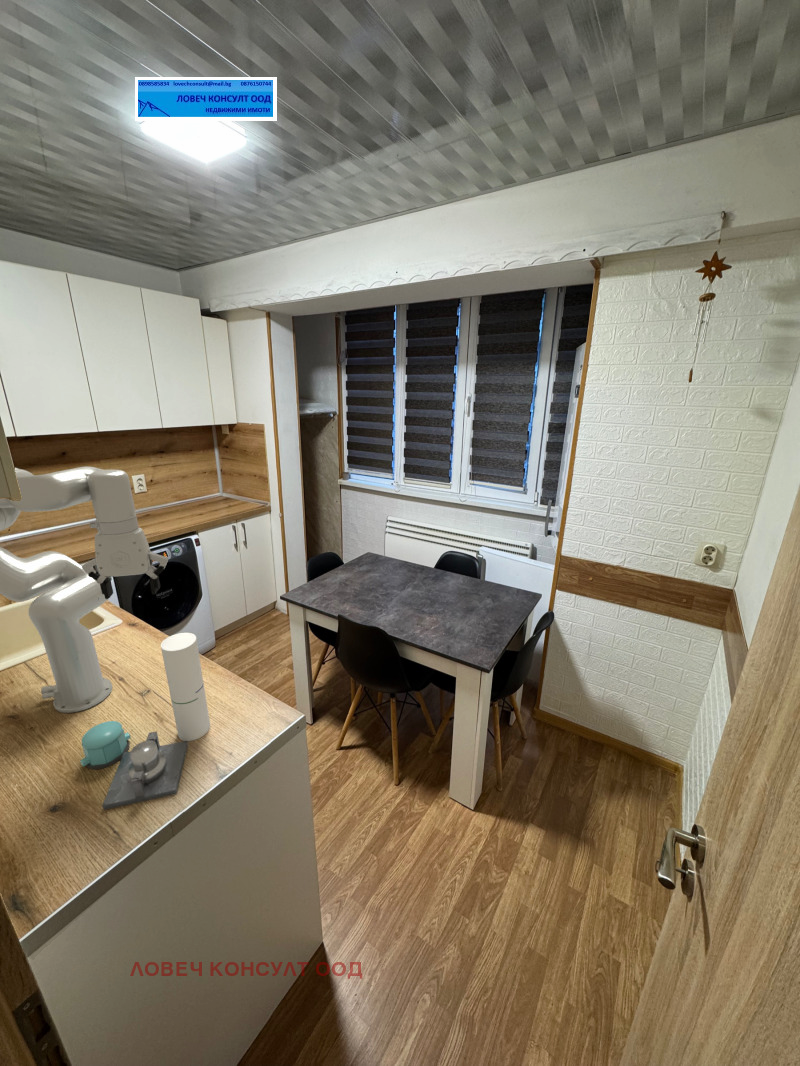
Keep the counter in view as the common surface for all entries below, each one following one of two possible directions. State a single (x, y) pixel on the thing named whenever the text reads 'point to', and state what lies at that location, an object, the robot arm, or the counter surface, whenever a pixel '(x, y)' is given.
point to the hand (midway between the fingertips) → (132, 594)
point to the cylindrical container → (186, 685)
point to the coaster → (110, 761)
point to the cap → (104, 743)
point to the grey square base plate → (147, 772)
